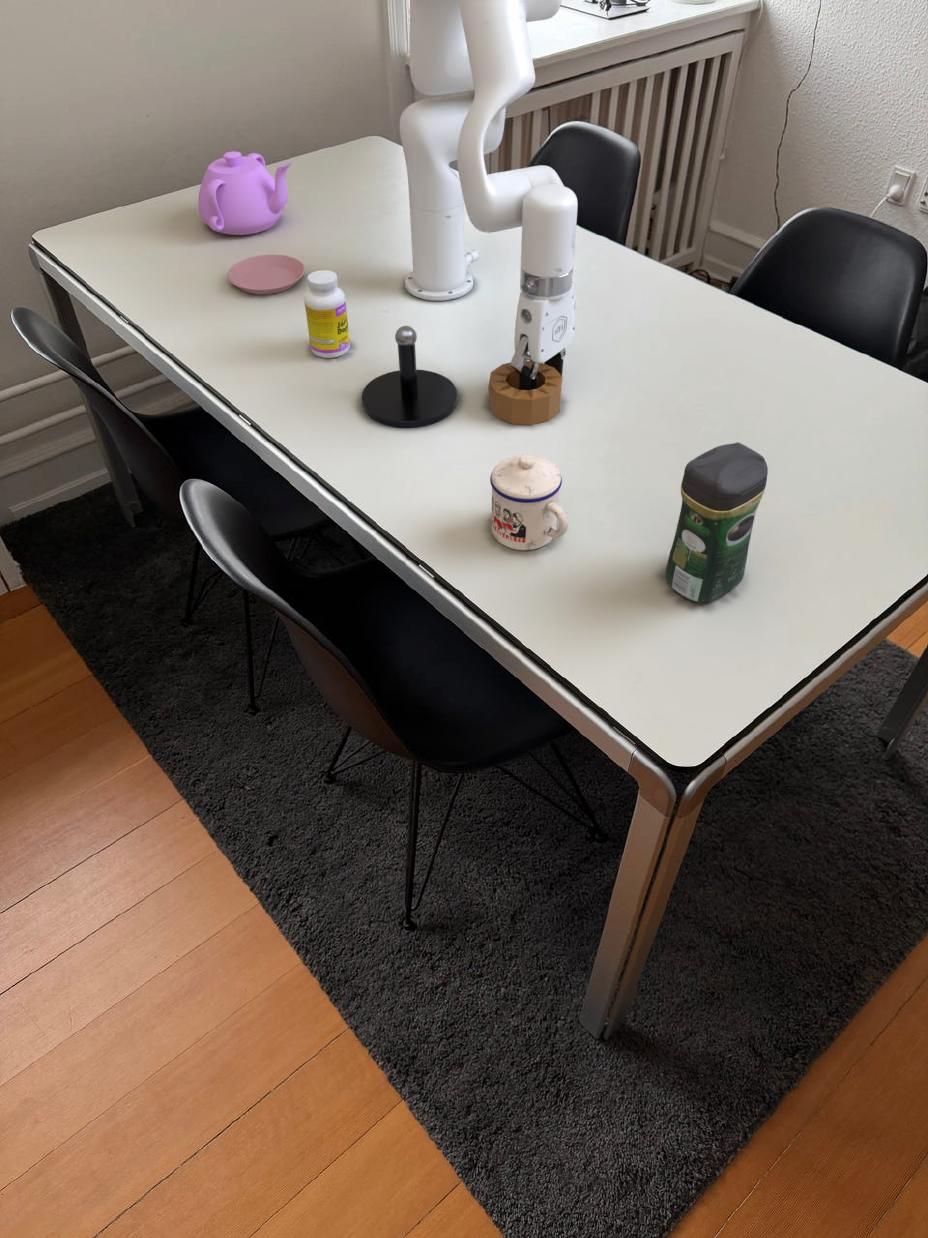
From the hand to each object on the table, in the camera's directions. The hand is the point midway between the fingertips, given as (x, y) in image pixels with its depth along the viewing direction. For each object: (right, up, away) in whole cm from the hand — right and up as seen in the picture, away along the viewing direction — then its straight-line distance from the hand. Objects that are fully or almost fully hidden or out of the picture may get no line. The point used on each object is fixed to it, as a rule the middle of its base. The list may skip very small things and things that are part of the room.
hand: (540, 387), depth 149 cm
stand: (-21, -2, 0) cm, 21 cm away
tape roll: (-3, -3, -2) cm, 4 cm away
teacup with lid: (-3, -26, -23) cm, 35 cm away
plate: (-49, +27, +29) cm, 63 cm away
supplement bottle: (-35, +9, +11) cm, 37 cm away
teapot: (-56, +45, +47) cm, 86 cm away
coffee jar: (+18, -32, -30) cm, 47 cm away
